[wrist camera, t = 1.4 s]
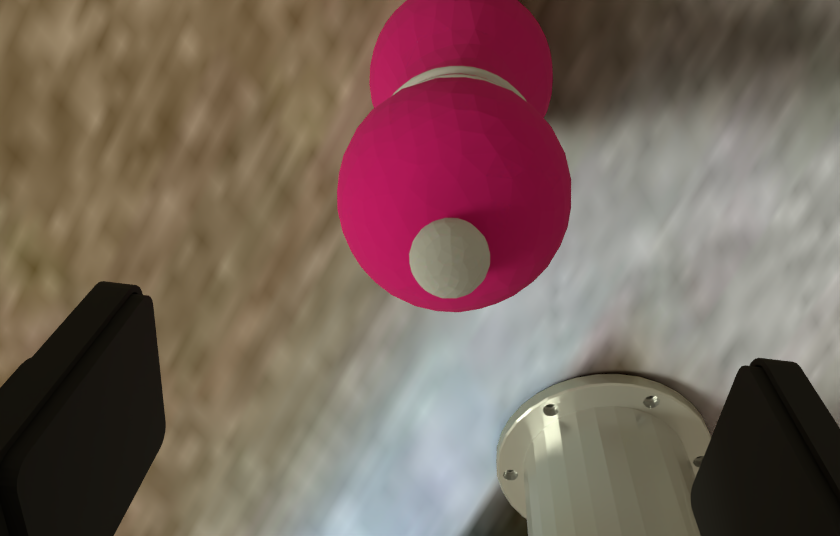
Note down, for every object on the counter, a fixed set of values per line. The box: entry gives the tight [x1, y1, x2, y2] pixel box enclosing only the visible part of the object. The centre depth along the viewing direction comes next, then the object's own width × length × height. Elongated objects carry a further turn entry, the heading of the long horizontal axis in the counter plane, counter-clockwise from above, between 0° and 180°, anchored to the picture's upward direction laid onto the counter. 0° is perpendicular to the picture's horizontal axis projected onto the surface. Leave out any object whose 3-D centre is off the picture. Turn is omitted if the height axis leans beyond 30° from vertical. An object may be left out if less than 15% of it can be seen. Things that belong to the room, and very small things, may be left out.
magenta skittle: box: [337, 0, 571, 312], centre depth 24 cm, size 7×7×20 cm
